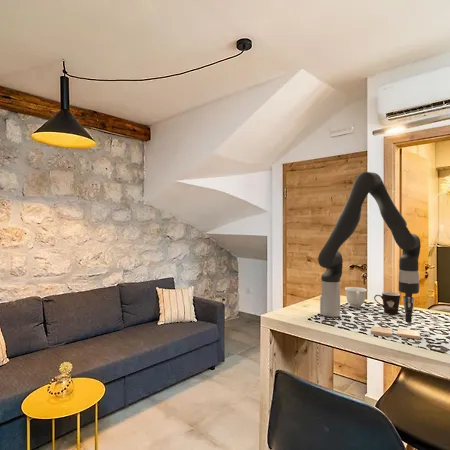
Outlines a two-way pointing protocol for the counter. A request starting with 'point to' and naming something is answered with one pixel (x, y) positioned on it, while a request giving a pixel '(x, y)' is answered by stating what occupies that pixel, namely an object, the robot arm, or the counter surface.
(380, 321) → the counter surface
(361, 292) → the teacup
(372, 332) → the tile
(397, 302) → the coffee mug
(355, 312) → the counter surface
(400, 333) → the tile
